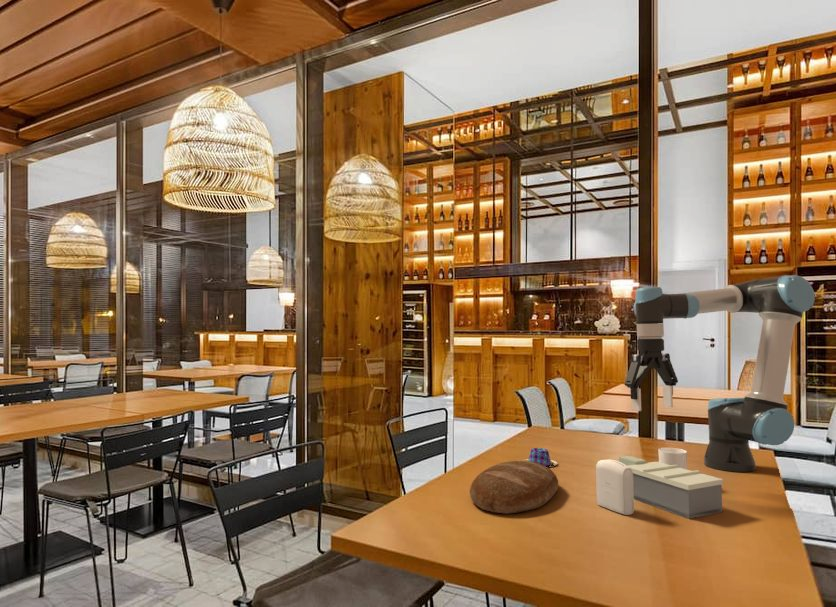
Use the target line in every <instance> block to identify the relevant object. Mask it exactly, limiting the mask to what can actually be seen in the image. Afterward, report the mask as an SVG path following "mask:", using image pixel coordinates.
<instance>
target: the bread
mask: <svg viewBox="0 0 836 607" xmlns="http://www.w3.org/2000/svg"><path fill="white" fill-rule="evenodd" d="M558 489H559V479H558V477H557V475H556V473H555V472H554V471H553V470H552V469H550V468H549V467H546V466H544V465H541V464H539V463H536V462H532V461H523V460H511V461H509V460H508V461H505V462H500V463H498V464H495V465H492V466H490V467H488V468H486V469H485V470H483V471H482V472H480V473H479V474H478V475H477V476H476V477H475V478H474V480H472V483H471V484H470V487H469V497H470V499H471V501H472V502H473V503H474V504H475V505H476V506H477V507H478V508H480V509H482V510H484V511H485V510H486V512H489V511H490V513H495V514H500V513H502V515H503V514H504V515H509V514H516V513H521V512H527V511H530V510H531V511H532V510H534V509H539V508H540V507H542V506H544V505H545V504H546V503H547V502H549V501H550V500H551V499H552V498H553V497H554V495H555V494H556V492H557V490H558Z"/></svg>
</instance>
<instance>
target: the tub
mask: <svg viewBox="0 0 836 607" xmlns="http://www.w3.org/2000/svg"><path fill="white" fill-rule="evenodd" d="M722 485H723V484H721V485H715V486H710V487H704V488H698V489H693V490H686V489H683V488H680V487H676V486H673V485H670V484H667V483H663V482H660V481H657V480H654V479H650V478H647V477H644V476H640V475H637V474H634V473H633V489H634V501H635V500H636V501H639V502H641V503H643V504H647V505H650V506H652V507H655V508H658V509H661V510H664V511H666V512H669V513H672V514H674V515H677V516H680V517H683V518H686V519H689V520H691V519H696V518H700V516H701V517H705V516H710V515H714V514H715V515H716V514H719V513H723V494H722V492H723V491H722V489H723V488H722V487H723V486H722ZM695 517H696V518H695ZM690 518H691V519H690Z"/></svg>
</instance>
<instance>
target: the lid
mask: <svg viewBox="0 0 836 607" xmlns="http://www.w3.org/2000/svg"><path fill="white" fill-rule="evenodd" d="M618 461H619V462H621V463H623V464H625V465H627V466H628V467H629V468H631V470H632V472H633V473H634V474H637V475H640V476H644V477H647V478H650V479H654V480H657V481H660V482H663V483H667V484H670V485H673V486H676V487H680V488H683V489H686V490H693V489H698V488H704V487H710V486H715V485H724V479H723V478H720V477H716V476H712V475H709V474H704V473H701V470H698V469H697V470H690V469H688V468H687V469H683V468H679V467H678V465H668V464H664V463H660V462H659V461H651V462H646V459H641V458H638V457H635V456H632V455H625V456H618Z"/></svg>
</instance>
